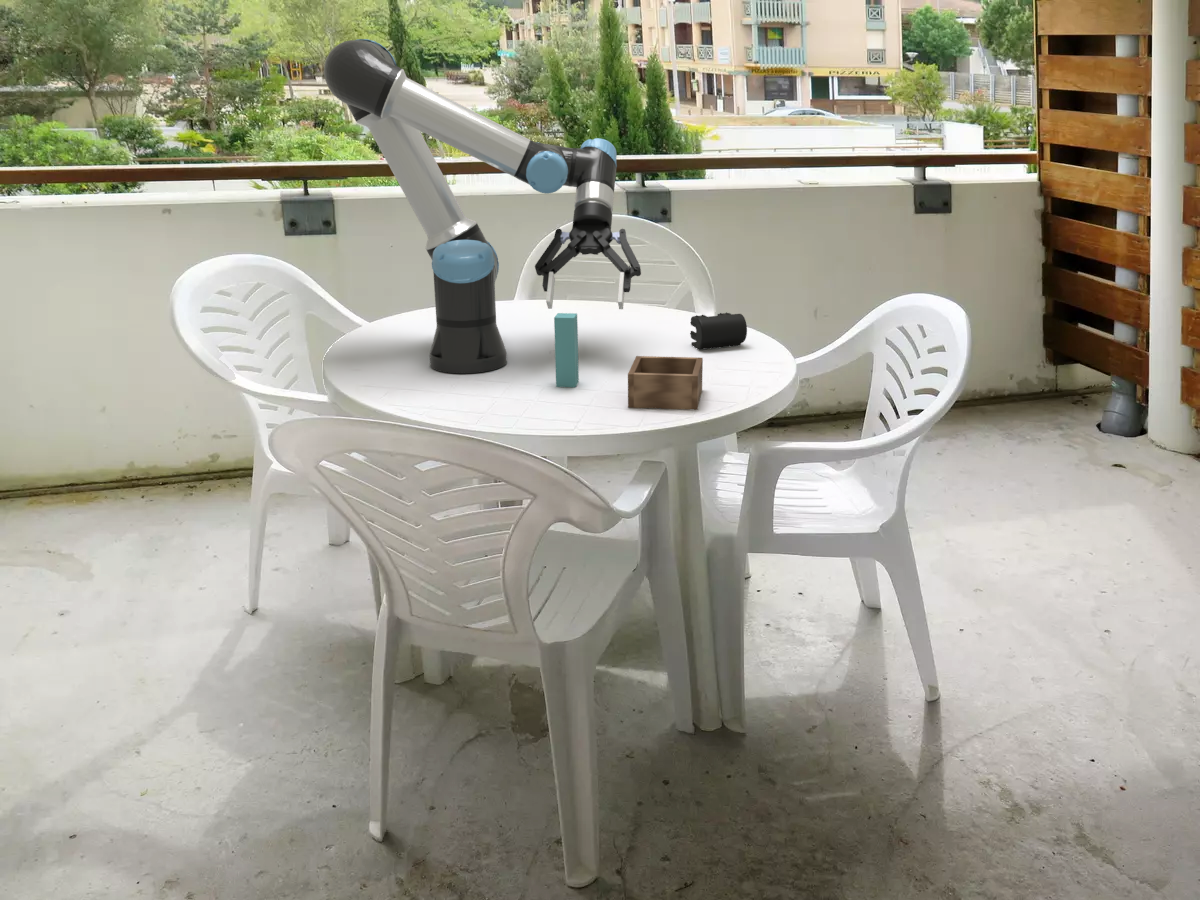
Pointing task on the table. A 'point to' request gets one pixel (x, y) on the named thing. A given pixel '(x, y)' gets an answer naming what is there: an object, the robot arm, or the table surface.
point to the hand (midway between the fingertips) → (584, 305)
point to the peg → (566, 349)
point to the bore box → (665, 382)
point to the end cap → (718, 330)
